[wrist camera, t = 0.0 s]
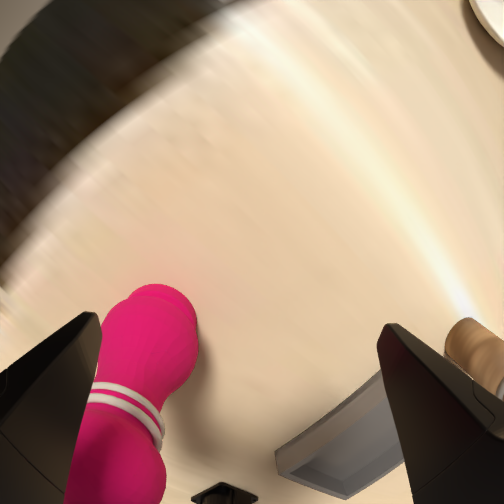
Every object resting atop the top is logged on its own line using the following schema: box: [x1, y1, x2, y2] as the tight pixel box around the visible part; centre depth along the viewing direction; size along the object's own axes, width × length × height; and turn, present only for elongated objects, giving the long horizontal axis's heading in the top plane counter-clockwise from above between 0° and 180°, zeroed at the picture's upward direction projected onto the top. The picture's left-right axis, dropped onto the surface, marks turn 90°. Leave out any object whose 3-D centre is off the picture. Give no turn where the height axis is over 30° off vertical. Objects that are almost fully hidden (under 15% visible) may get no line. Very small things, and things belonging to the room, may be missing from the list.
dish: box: [275, 369, 405, 500], centre depth 29 cm, size 18×13×4 cm
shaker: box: [445, 317, 504, 401], centre depth 23 cm, size 5×5×12 cm
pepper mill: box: [63, 284, 198, 504], centre depth 16 cm, size 7×7×20 cm
